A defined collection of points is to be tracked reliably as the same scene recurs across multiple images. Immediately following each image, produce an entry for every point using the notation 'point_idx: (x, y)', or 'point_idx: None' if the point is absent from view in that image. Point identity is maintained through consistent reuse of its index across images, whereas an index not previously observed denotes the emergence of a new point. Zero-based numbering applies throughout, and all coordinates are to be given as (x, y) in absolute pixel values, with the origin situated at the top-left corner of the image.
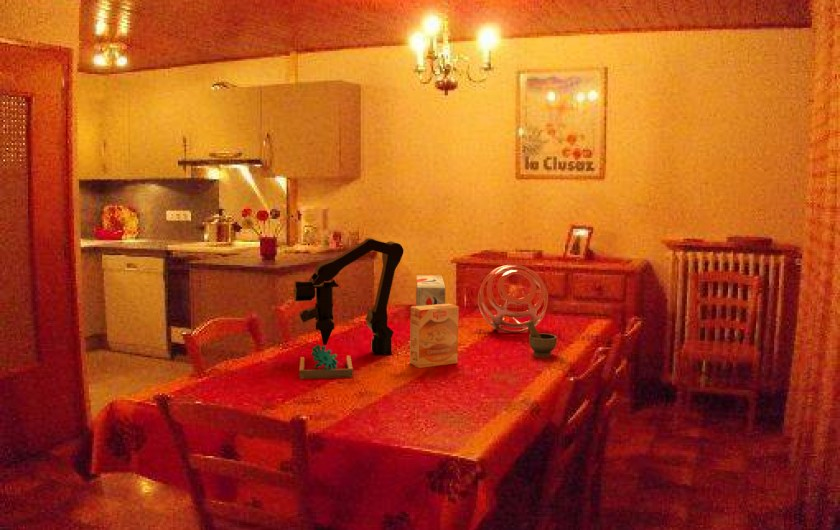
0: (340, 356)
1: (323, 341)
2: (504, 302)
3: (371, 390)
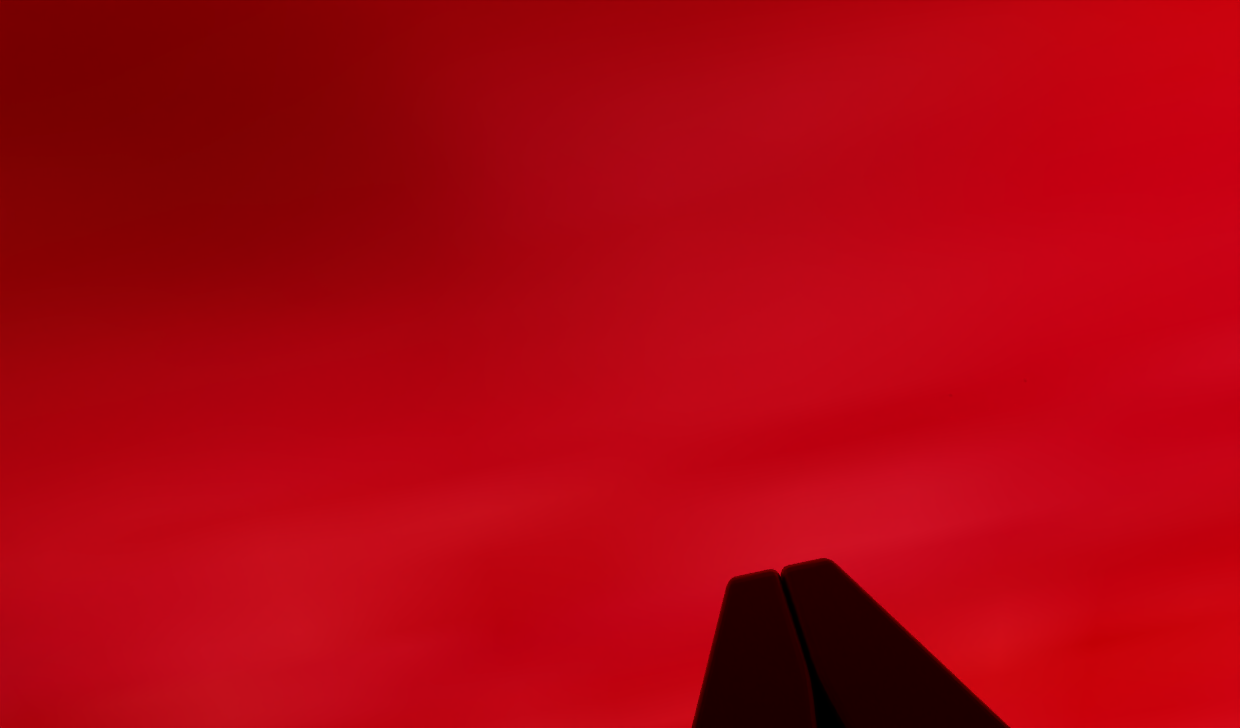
0: None
1: (702, 718)
2: None
3: None
